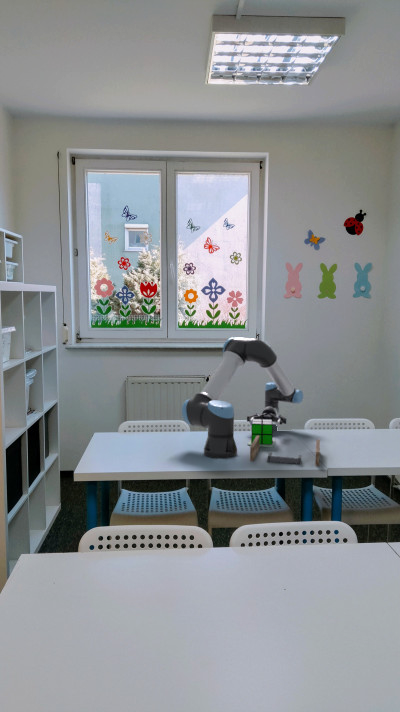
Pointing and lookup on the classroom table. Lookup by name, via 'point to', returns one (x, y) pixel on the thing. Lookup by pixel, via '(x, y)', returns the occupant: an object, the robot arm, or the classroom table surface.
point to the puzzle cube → (262, 431)
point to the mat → (263, 444)
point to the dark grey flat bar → (284, 459)
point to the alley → (255, 448)
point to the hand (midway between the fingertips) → (264, 423)
